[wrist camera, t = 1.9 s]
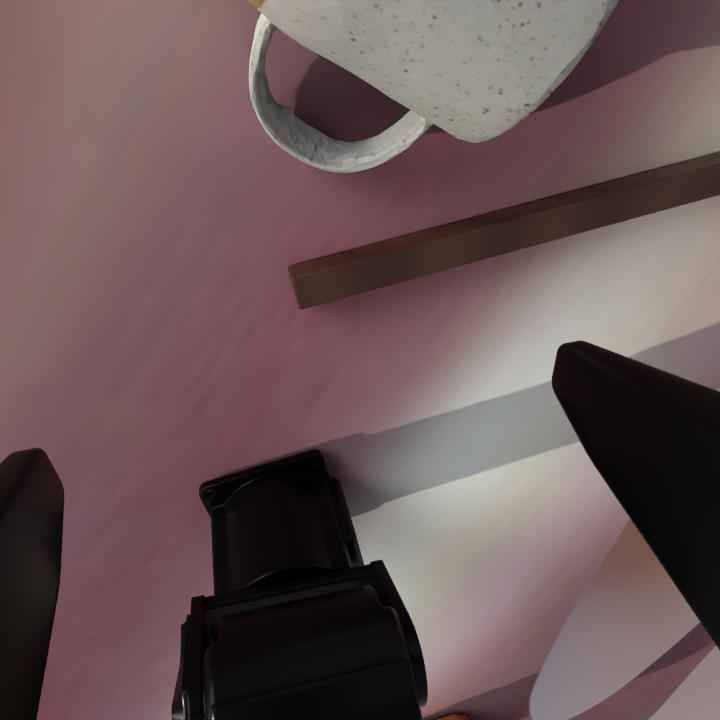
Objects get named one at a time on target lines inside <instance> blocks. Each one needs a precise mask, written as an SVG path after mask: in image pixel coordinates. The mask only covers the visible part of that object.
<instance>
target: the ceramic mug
mask: <svg viewBox="0 0 720 720" xmlns="http://www.w3.org/2000/svg"><path fill="white" fill-rule="evenodd" d="M248 1H249V2H250V3H251V4H252V5H253V6H255V7H256V8H257V9H258V10H259V11H260V12H261V15H260V18H259V19H258V22H257V26H256V30H255V34H254V39H253V44H252V50H251V56H250V65H249V88H250V96H251V102H252V104H253V107H254V109H255V112H256V114H257V116H258V119H259V121H260V122H261V124H262V126H263V127H264V129H265V131H266V132H267V134H268V135H269V136H270V137H271V138H272V139H273V140H274V141H275V142H276V143H277V144H278V145H279V146H280V147H281V148H283V149H284V150H285V151H286V152H287V153H289V154H290V155H292V156H293V157H295V158H297V159H299V160H301V161H303V162H304V163H306V164H308V165H311V166H313V167H316V168H318V169H322V170H325V171H329V172H336V173H351V172H357V171H362V170H367V169H370V168H373V167H376V166H378V165H380V164H382V163H385V162H387V161H389V160H391V159H392V158H394V157H395V156H397V155H399V154H400V153H402V152H403V151H404V150H406V149H407V148H408V147H409V146H410V145H411V144H413V143H414V142H415V141H416V140H418V139H419V138H420V136H421V135H422V134H424V133H425V132H426V131H427V130H428V129H429V128H430V126H431V125H432V124H435V125H436V126H438V127H440V128H441V129H443V130H445V131H446V132H448V133H450V134H451V135H453V136H454V137H456V138H457V139H461V140H465V141H468V142H472V143H478V142H483V141H487V140H490V139H492V138H495V137H497V136H499V135H502V134H504V133H505V132H506V131H508V130H510V129H511V128H513V127H515V126H516V125H517V124H518V123H520V122H521V121H522V120H523V119H525V118H526V117H527V116H528V115H530V114H531V113H532V112H533V111H535V110H536V109H537V108H538V107H539V106H540V105H541V104H542V103H543V102H544V101H545V100H546V99H547V98H548V97H549V96H550V94H551V93H552V92H553V91H554V90H555V89H556V88H557V87H558V86H559V85H560V84H561V83H562V82H563V80H564V79H565V78H566V77H567V76H568V75H569V74H570V73H571V72H572V70H573V69H574V68H575V67H576V65H577V64H578V63H579V61H580V60H581V58H582V57H583V56H584V54H585V53H586V52H587V50H588V49H589V48H590V46H591V45H592V43H593V42H594V41H595V39H596V37H597V36H598V34H599V33H600V31H601V30H602V28H603V27H604V25H605V24H606V22H607V20H608V19H609V17H610V15H611V14H612V12H613V11H614V9H615V7H616V6H617V4H618V2H619V0H248ZM276 28H279V29H280V30H281V31H282V32H284V33H285V34H286V35H288V36H289V37H291V38H292V39H294V40H295V41H297V42H298V43H300V44H301V45H303V46H304V47H306V48H308V49H310V50H311V51H313V52H315V53H317V54H319V55H321V56H322V57H324V58H326V59H328V60H330V61H332V62H334V63H335V64H337V65H339V66H340V67H342V68H344V69H346V70H347V71H349V72H351V73H353V74H354V75H356V76H358V77H359V78H361V79H362V80H364V81H366V82H367V83H369V84H370V85H372V86H373V87H375V88H376V89H378V90H379V91H381V92H382V93H384V94H385V95H387V96H388V97H390V98H392V99H393V100H395V101H396V102H398V103H400V104H402V105H403V106H405V107H407V108H408V109H410V111H409V112H408V113H407V114H406V115H405V116H404V117H402V118H401V119H400V120H399V121H398V122H396V123H395V124H394V125H393V126H391V127H390V128H388V129H387V130H385V131H384V132H382V133H381V134H379V135H378V136H375V137H371V138H369V139H366V140H362V141H357V142H344V141H342V140H334V139H332V138H330V137H328V136H326V135H325V134H323V133H321V132H320V131H318V130H317V129H315V128H313V127H311V126H310V125H308V124H306V123H305V122H303V121H302V120H301V119H299V118H298V117H297V116H296V115H295V114H294V113H293V111H292V109H291V108H290V107H286V106H283V105H280V104H277V103H276V101H275V100H274V98H273V96H272V95H271V93H270V91H269V86H268V81H267V78H266V74H265V71H264V66H265V58H266V52H267V47H268V45H269V43H270V41H271V37H272V33H273V32H274V31H275V29H276Z"/></svg>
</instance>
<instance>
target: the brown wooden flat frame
mask: <svg viewBox="0 0 720 720" xmlns="http://www.w3.org/2000/svg"><path fill="white" fill-rule="evenodd" d="M717 195H720V152H719V153H715V154H711V155H707V156H704V157H700V158H696V159H692V160H689V161H685V162H681V163H677V164H673V165H670V166H666V167H662V168H658V169H654V170H651V171H647V172H643V173H639V174H636V175H632V176H628V177H624V178H620V179H617V180H613V181H609V182H605V183H601V184H598V185H594V186H590V187H586V188H583V189H579V190H575V191H571V192H567V193H564V194H560V195H556V196H552V197H548V198H545V199H541V200H537V201H533V202H530V203H526V204H522V205H518V206H514V207H511V208H507V209H503V210H499V211H495V212H492V213H488V214H484V215H480V216H477V217H473V218H469V219H465V220H461V221H458V222H454V223H450V224H446V225H442V226H439V227H435V228H431V229H427V230H424V231H420V232H416V233H412V234H408V235H405V236H401V237H397V238H393V239H390V240H386V241H382V242H378V243H374V244H371V245H367V246H363V247H359V248H355V249H352V250H348V251H344V252H340V253H337V254H333V255H329V256H325V257H321V258H318V259H314V260H310V261H306V262H302V263H299V264H295V265H291V266H288V272H289V275H290V279H291V283H292V287H293V290H294V294H295V297H296V300H297V303H298V306H299V308H300V309H304V308H308V307H312V306H315V305H319V304H323V303H326V302H330V301H334V300H337V299H341V298H345V297H348V296H352V295H355V294H359V293H363V292H366V291H370V290H374V289H377V288H381V287H385V286H388V285H392V284H396V283H399V282H403V281H407V280H410V279H414V278H418V277H421V276H425V275H429V274H432V273H436V272H440V271H443V270H447V269H450V268H454V267H458V266H461V265H465V264H469V263H472V262H476V261H480V260H483V259H487V258H491V257H494V256H498V255H502V254H505V253H509V252H513V251H516V250H520V249H524V248H527V247H531V246H535V245H538V244H542V243H546V242H549V241H553V240H556V239H560V238H564V237H567V236H571V235H575V234H578V233H582V232H586V231H589V230H593V229H597V228H600V227H604V226H608V225H611V224H615V223H619V222H622V221H626V220H630V219H633V218H637V217H641V216H644V215H648V214H652V213H655V212H659V211H662V210H666V209H670V208H673V207H677V206H681V205H684V204H688V203H692V202H695V201H699V200H703V199H706V198H710V197H714V196H717Z"/></svg>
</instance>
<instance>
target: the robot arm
mask: <svg viewBox="0 0 720 720" xmlns="http://www.w3.org/2000/svg"><path fill="white" fill-rule="evenodd" d="M552 387H553V390H554V393H555V395H556V397H557V398H558V400H559V402H560V404H561V406H562V408H563V410H564V412H565V414H566V415H567V417H568V419H569V421H570V423H571V425H572V427H573V429H574V431H575V432H576V434H577V436H578V438H579V440H580V442H581V444H582V446H583V447H584V449H585V451H586V453H587V454H588V456H589V458H590V459H591V461H592V462H593V464H594V466H595V467H596V469H597V470H598V472H599V473H600V475H601V476H602V477H603V479H604V480H605V482H606V483H607V485H608V486H609V488H610V489H611V491H612V492H613V494H614V495H615V497H616V498H617V500H618V501H619V503H620V504H621V505H622V507H623V508H624V510H625V511H626V513H627V514H628V516H629V517H630V519H631V520H632V522H633V523H634V524H635V526H636V528H637V529H638V531H639V532H640V533H641V535H642V536H643V538H644V539H645V541H646V542H647V544H648V545H649V547H650V548H651V550H652V551H653V553H654V554H655V555H656V557H657V558H658V560H659V561H660V563H661V564H662V566H663V567H664V569H665V570H666V572H667V573H668V575H669V576H670V578H671V579H672V581H673V582H674V584H675V585H676V586H677V588H678V589H679V591H680V592H681V594H682V595H683V596H684V598H685V600H686V601H687V603H688V604H689V606H690V607H691V609H692V610H693V612H694V613H695V614H696V616H697V617H698V619H699V620H700V622H701V623H702V625H703V626H704V628H705V629H706V631H707V632H708V634H709V635H710V637H711V638H712V640H713V641H714V643H715V644H716V645H717V647H718V648H719V650H720V392H719V391H716V390H713V389H711V388H708V387H705V386H702V385H700V384H697V383H694V382H692V381H689V380H686V379H684V378H681V377H678V376H676V375H673V374H670V373H668V372H665V371H662V370H660V369H657V368H654V367H652V366H649V365H646V364H644V363H641V362H638V361H636V360H633V359H630V358H628V357H625V356H622V355H620V354H617V353H614V352H612V351H609V350H606V349H604V348H601V347H598V346H596V345H593V344H590V343H588V342H585V341H575V342H570V343H565V344H562V345H561V346H560V347H559V349H558V351H557V355H556V360H555V365H554V370H553V375H552ZM314 458H317V459H315V460H312V459H314ZM210 490H211V492H207V491H210ZM199 495H200V498H201V500H202V502H203V504H204V506H205V508H206V510H207V512H208V514H209V515H210V517H211V528H212V552H213V576H214V595H213V596H208V597H205V596H204V595H202V596H197V597H192V599H191V614H189V615H187V619H186V622H185V623H183V624H182V625H181V657H180V667H179V672H178V677H177V682H176V687H175V692H174V697H173V702H172V720H422V715H421V710H420V707H423V706H425V705H426V703H427V696H428V692H427V678H426V670H425V665H424V659H423V655H422V651H421V647H420V643H419V640H418V636H417V633H416V630H415V627H414V625H413V623H412V620H411V618H410V616H409V614H408V612H407V610H406V608H405V606H404V604H403V602H402V600H401V598H400V596H399V593H398V591H397V589H396V587H395V585H394V583H393V581H392V579H391V577H390V575H389V573H388V571H387V569H386V567H385V565H384V563H383V561H382V560H378V561H373V562H370V564H368V565H364V563H363V559H362V555H361V552H360V548H359V544H358V541H357V537H356V534H355V530H354V527H353V524H352V520H351V517H350V514H349V510H348V507H347V504H346V500H345V497H344V494H343V490H342V487H341V484H340V480H339V479H337V478H335V477H334V478H329V474H328V471H327V468H326V464H325V461H324V457H323V454H322V452H321V451H319V450H315V449H314V450H310V451H306V452H303V453H300V454H296V455H293V456H290V457H286V458H283V459H280V460H277V461H273V462H270V463H267V464H263V465H260V466H257V467H253V468H250V469H247V470H243V471H240V472H237V473H234V474H230V475H227V476H224V477H220V478H217V479H214V480H210V481H207V482H205V483H203V484H202V485H200V488H199ZM63 513H64V489H63V485H62V482H61V480H60V478H59V476H58V474H57V473H56V471H55V469H54V467H53V465H52V463H51V462H50V460H49V458H48V456H47V454H46V453H45V451H44V450H42V449H40V448H32V449H27V450H22V451H17V452H14V453H11V454H10V455H9V456H8V457H7V458H5V459H4V460H3V461H2V462H1V463H0V720H36V719H37V713H38V707H39V702H40V696H41V690H42V684H43V679H44V673H45V667H46V662H47V656H48V650H49V644H50V639H51V633H52V627H53V621H54V616H55V610H56V604H57V599H58V592H59V585H60V573H61V555H62V534H63Z"/></svg>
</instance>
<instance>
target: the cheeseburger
mask: <svg viewBox="0 0 720 720" xmlns="http://www.w3.org/2000/svg"><path fill="white" fill-rule="evenodd" d="M437 720H469V719H468V717H467V716H466V715H454V714H451V715H448V716H445V717H443V718H440V719H437Z"/></svg>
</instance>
